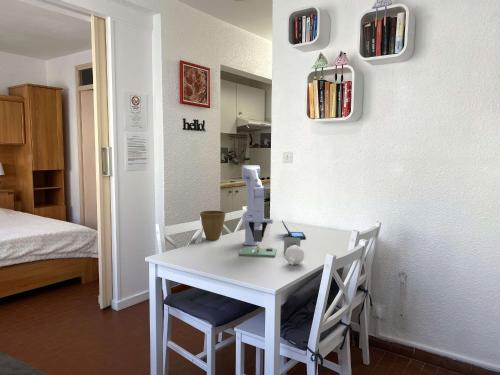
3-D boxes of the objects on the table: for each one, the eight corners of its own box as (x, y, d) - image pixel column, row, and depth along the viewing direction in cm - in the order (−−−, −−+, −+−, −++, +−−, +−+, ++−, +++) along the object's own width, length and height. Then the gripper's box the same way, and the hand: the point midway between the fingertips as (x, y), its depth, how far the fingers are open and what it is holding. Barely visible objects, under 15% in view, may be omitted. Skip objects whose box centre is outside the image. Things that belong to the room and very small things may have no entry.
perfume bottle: (285, 256, 184) (279, 266, 173) (290, 239, 181) (285, 248, 170) (302, 262, 182) (297, 273, 171) (308, 246, 179) (303, 256, 168)
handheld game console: (306, 239, 226) (306, 224, 225) (283, 239, 226) (283, 224, 225) (302, 234, 242) (302, 219, 241) (281, 233, 242) (281, 219, 241)
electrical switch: (283, 253, 195) (283, 237, 195) (284, 252, 199) (284, 236, 199) (300, 254, 193) (300, 238, 193) (300, 253, 198) (301, 237, 198)
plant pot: (221, 242, 218) (221, 214, 216) (196, 241, 221) (196, 213, 219) (228, 236, 232) (228, 210, 231) (204, 235, 235) (204, 209, 234)
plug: (255, 238, 198) (255, 227, 198) (262, 239, 198) (262, 227, 197) (253, 241, 192) (253, 229, 192) (261, 241, 192) (261, 229, 191)
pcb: (242, 249, 203) (242, 242, 203) (276, 250, 201) (276, 244, 200) (238, 255, 191) (238, 248, 191) (274, 257, 189) (275, 250, 188)
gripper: (242, 211, 191) (242, 238, 192) (272, 212, 189) (271, 239, 190) (245, 209, 198) (245, 235, 199) (273, 210, 196) (272, 236, 197)
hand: (258, 237), depth 195 cm, fingers closed on plug, 4 cm apart
